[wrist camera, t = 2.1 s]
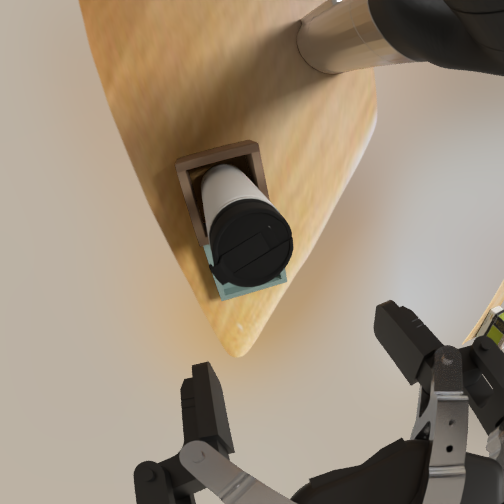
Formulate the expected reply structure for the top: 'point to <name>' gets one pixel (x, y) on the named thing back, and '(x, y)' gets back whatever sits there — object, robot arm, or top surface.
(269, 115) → the top surface
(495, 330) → the tea box
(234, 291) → the tray
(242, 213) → the travel mug
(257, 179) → the holder
